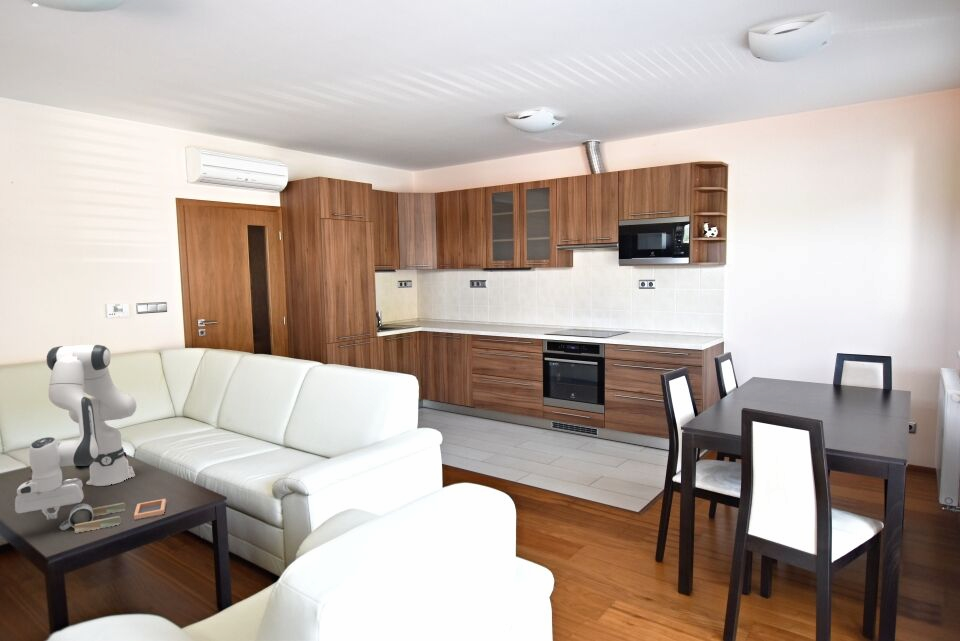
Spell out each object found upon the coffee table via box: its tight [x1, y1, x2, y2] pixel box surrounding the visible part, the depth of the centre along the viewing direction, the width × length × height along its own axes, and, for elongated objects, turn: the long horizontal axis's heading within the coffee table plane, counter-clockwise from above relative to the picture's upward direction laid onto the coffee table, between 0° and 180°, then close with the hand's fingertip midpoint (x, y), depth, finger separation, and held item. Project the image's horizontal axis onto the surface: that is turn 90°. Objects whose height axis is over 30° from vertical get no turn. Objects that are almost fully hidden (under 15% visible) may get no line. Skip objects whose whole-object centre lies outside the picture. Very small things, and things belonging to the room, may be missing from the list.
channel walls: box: [74, 502, 126, 534], centre depth 217 cm, size 15×14×3 cm
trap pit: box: [133, 498, 167, 521], centre depth 225 cm, size 12×10×2 cm
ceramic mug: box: [59, 503, 94, 531], centre depth 214 cm, size 11×8×8 cm
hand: (52, 518), depth 211 cm, fingers closed
